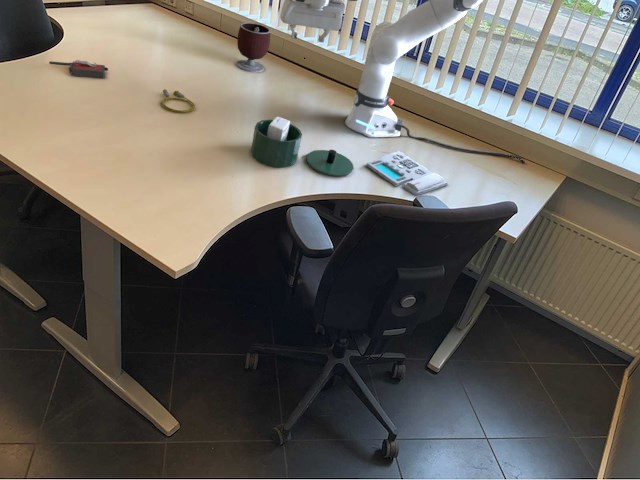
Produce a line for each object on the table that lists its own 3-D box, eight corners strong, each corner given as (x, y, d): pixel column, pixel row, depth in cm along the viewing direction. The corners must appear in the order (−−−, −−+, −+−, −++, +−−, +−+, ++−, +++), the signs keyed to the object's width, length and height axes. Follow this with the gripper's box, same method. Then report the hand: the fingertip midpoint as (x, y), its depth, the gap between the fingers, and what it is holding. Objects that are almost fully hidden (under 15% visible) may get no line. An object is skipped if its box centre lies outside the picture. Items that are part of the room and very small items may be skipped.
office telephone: (449, 179, 192) (416, 192, 179) (447, 185, 193) (413, 198, 180) (400, 147, 203) (365, 157, 190) (398, 153, 205) (363, 164, 192)
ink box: (277, 162, 179) (283, 129, 172) (262, 157, 179) (268, 125, 173) (284, 151, 186) (291, 119, 179) (271, 147, 186) (276, 115, 180)
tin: (290, 146, 191) (295, 121, 186) (300, 168, 180) (306, 143, 174) (247, 143, 186) (251, 117, 181) (255, 166, 175) (259, 140, 169)
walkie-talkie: (107, 70, 209) (49, 65, 201) (107, 58, 206) (48, 53, 199) (108, 79, 202) (48, 74, 195) (108, 67, 200) (47, 62, 192)
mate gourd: (233, 58, 247) (239, 13, 235) (264, 63, 250) (271, 18, 239) (235, 71, 235) (241, 24, 223) (267, 76, 238) (274, 30, 227)
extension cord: (196, 97, 206) (197, 92, 205) (193, 115, 194) (193, 110, 192) (163, 92, 204) (163, 87, 202) (157, 110, 191) (157, 105, 190)
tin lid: (344, 154, 195) (348, 141, 192) (358, 178, 183) (362, 165, 180) (301, 151, 190) (304, 138, 187) (312, 176, 178) (316, 162, 175)
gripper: (343, -2, 180) (333, 40, 188) (283, -12, 173) (276, 32, 181) (349, 4, 175) (339, 47, 183) (287, -6, 168) (280, 39, 176)
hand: (307, 40), depth 182 cm, fingers open, 8 cm apart
